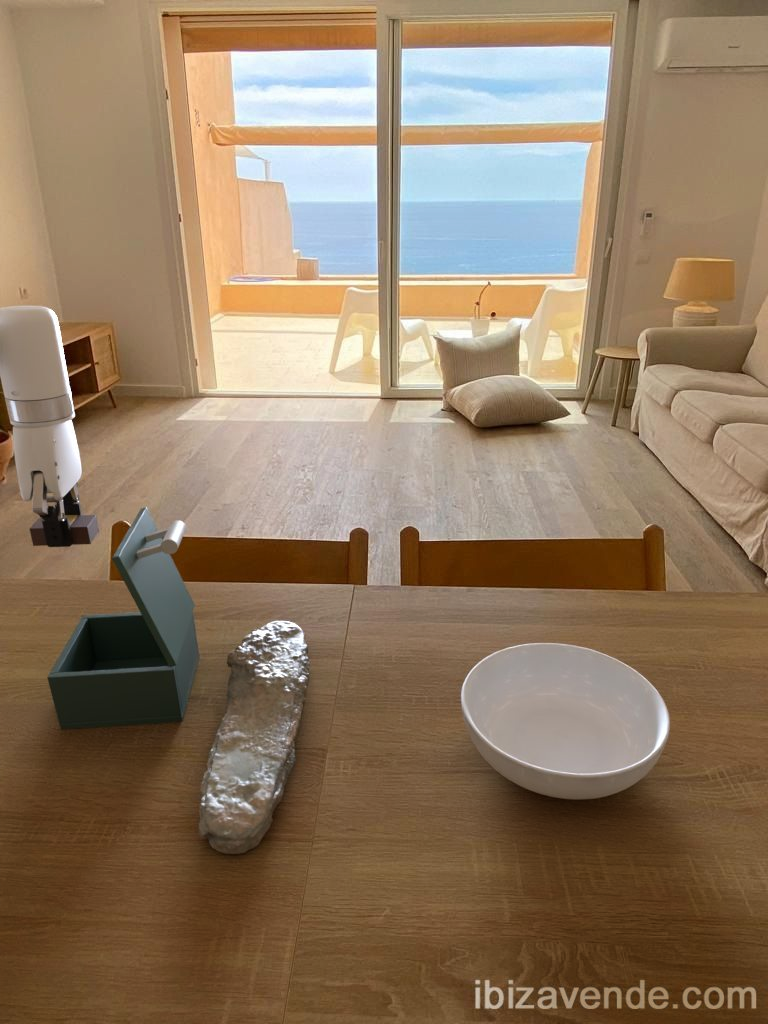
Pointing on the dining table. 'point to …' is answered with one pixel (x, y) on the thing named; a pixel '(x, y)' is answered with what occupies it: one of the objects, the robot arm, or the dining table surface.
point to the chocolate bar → (80, 527)
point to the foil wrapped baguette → (254, 737)
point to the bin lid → (156, 581)
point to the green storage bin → (120, 674)
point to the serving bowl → (564, 719)
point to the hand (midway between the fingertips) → (66, 536)
